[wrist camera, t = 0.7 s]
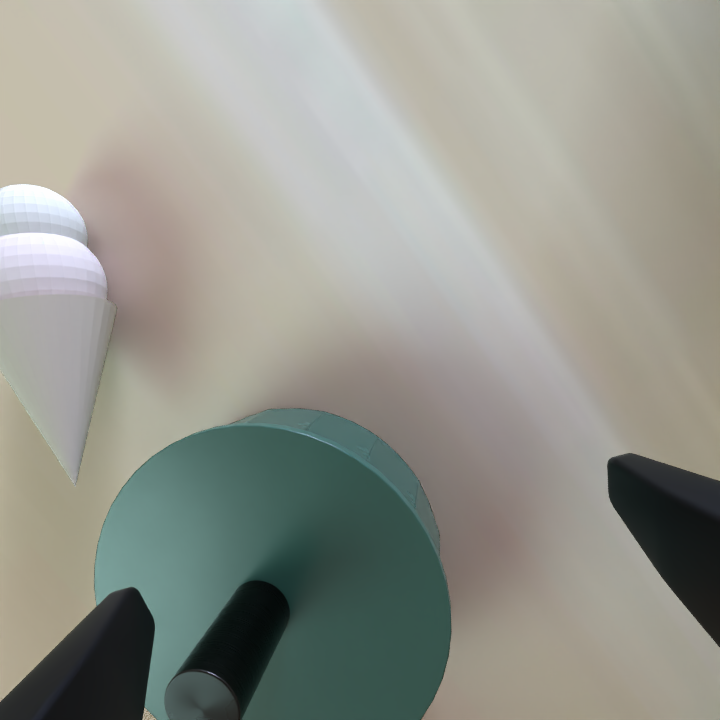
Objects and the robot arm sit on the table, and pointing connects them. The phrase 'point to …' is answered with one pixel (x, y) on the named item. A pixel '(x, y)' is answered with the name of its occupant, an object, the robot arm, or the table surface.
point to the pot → (357, 452)
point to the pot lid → (278, 580)
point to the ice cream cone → (52, 316)
